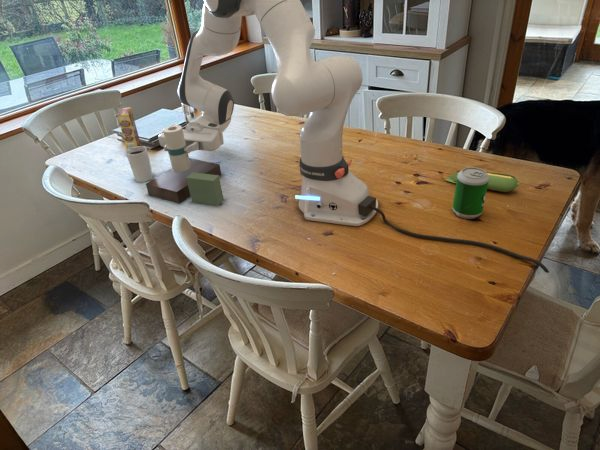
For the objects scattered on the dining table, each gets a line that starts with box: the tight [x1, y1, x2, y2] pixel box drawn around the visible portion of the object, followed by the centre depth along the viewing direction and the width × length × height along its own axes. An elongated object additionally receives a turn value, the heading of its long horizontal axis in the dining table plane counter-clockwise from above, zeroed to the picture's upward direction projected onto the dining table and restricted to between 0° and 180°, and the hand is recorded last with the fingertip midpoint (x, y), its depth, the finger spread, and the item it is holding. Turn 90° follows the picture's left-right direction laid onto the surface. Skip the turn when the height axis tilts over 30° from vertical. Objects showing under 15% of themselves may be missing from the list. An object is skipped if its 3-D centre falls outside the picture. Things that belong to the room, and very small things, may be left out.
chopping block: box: [145, 157, 222, 204], centre depth 138 cm, size 13×20×4 cm, turn 150°
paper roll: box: [162, 124, 191, 172], centre depth 132 cm, size 13×6×13 cm
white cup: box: [125, 146, 154, 183], centre depth 143 cm, size 7×7×10 cm
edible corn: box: [444, 170, 520, 193], centre depth 125 cm, size 5×20×5 cm, turn 62°
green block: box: [186, 172, 225, 207], centre depth 127 cm, size 4×9×8 cm, turn 70°
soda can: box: [451, 166, 489, 220], centre depth 111 cm, size 8×8×12 cm
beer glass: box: [181, 102, 203, 125], centre depth 167 cm, size 7×7×15 cm
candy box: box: [117, 106, 142, 150], centre depth 162 cm, size 9×4×15 cm, turn 13°
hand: (175, 150), depth 132 cm, fingers closed on paper roll, 6 cm apart
